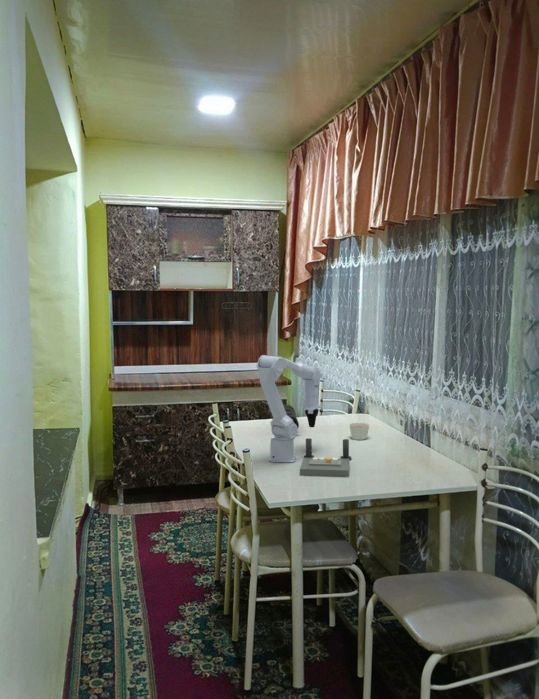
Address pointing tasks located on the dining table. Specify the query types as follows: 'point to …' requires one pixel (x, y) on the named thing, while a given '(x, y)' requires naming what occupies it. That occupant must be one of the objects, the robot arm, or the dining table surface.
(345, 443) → the dark flanged peg
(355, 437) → the candle
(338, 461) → the breaker panel
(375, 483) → the dining table surface
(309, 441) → the gray flanged cylinder
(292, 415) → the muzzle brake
